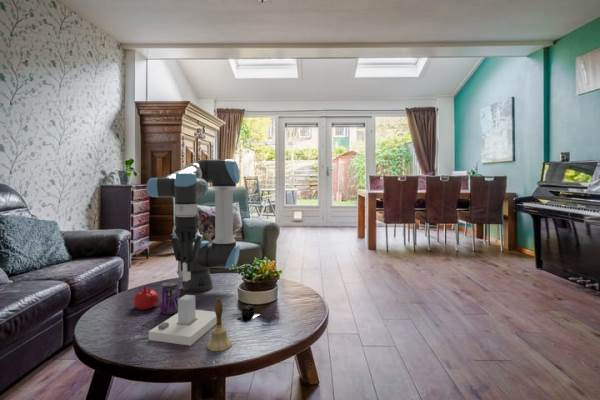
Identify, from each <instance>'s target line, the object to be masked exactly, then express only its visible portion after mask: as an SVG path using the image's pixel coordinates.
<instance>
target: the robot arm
mask: <svg viewBox="0 0 600 400" xmlns="http://www.w3.org/2000/svg"><path fill="white" fill-rule="evenodd" d="M208 183H209V184H210V183H211V187H212V188H213V189H214V191H215V192H214V206H215V207H214V211H215V213H214V214H215V215H214V221H215V223H214V226H215V228H214V229H215V230H214V231H215V232H214V236H215V237H214V239H213V240H212V241H211V242H212V243H210V242H209V240H204V238H205V236H204V235H203V234H200V233H199V232H198V228H197V225H198V217H197V214H198V207H197V205H198V200H197V199H198V198H199V199H200V198H203V197H204V196H206V195H207V194H208V192H209V184H208ZM238 183H240V169H239V165H238V162H237V161H235V159H229V158H228V159H227V158H223V159H222V158H219V159H218V158H217V159H215V158H213V159H211V158H203V159H199V160H196V161H193V162H190V163H188V164H185V166H184V167H183V168H182V169H179V170H177V171H175V172H172V173H170V174H168V175H166V176H162V177H151V178H149V179H148V180H147V182H146V193H147V195H148V196H149V197H150V198H151V197H152V198H157V199H158V198H174V214H175V217H174V226H175V230H174V232H173V233H171V234H169V235H168V238H169V239H170V241H171V246H172V249H173V253H174V258H175V261H178V262H179V263H180V271H181V272H182V282H181V290H182V291H184V292H187V293H199V292H200V293H201V292H205V291H208V290H211V289H212V288H213V287H214V284H213V283H214V282H213V278H212V276H211V273H210V269H211V268H218V269H232V268H231V267H232V264H234V265H235V267H236V266H237V264H238V261H239V257H240V250H241V249H240V245H239V244H237V242H236V239H235V238H234V214H233V213H234V210H233V209H234V207H233V206H234V203H233V202H234V195H233V194H234V189H235V188H237V184H238Z"/></svg>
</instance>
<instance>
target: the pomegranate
mask: <svg viewBox="0 0 600 400" xmlns="http://www.w3.org/2000/svg"><path fill="white" fill-rule="evenodd" d="M159 300H160V297H159V294H158V292H157V291H156V290H154V289H153V287H152V288H149V289H148V288H147V286H143V289H138V292H136V294H135V295H134V297H133V300H132V302H133V306H134V308H135V309H137V310H139V311H140V310H141V311H146V310H150V309H153V308H154V307H156V306H157V305H158V302H159Z"/></svg>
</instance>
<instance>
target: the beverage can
mask: <svg viewBox="0 0 600 400" xmlns="http://www.w3.org/2000/svg"><path fill="white" fill-rule="evenodd" d="M179 298H180V287H179V285H178V282H177V281H172V280H171V281H165V282H162V283H161V287H160V313H163V314H165V315H172V314H176V313H178V299H179Z"/></svg>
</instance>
